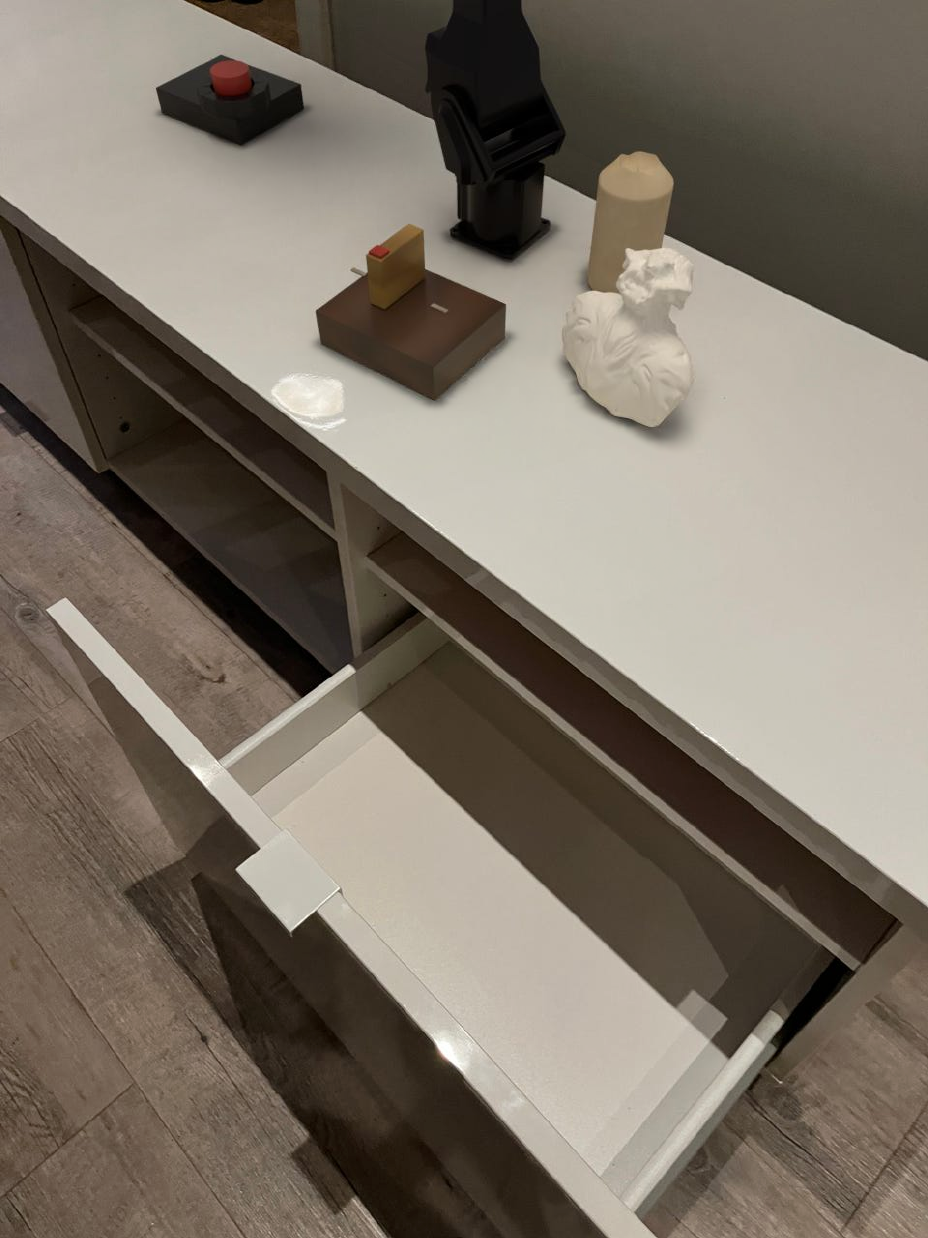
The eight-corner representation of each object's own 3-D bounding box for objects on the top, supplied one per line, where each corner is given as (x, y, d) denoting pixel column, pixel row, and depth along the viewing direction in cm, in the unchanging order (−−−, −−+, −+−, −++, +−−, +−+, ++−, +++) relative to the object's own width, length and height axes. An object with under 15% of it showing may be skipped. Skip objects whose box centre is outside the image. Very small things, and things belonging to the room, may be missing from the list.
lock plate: (505, 337, 71) (506, 301, 68) (434, 400, 67) (433, 365, 64) (383, 282, 75) (380, 246, 73) (309, 338, 71) (303, 303, 68)
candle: (632, 310, 73) (652, 188, 65) (573, 285, 75) (587, 163, 67) (667, 277, 76) (691, 156, 67) (609, 254, 77) (626, 133, 69)
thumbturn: (411, 271, 71) (408, 219, 68) (426, 277, 70) (424, 225, 67) (370, 303, 69) (365, 251, 65) (384, 310, 68) (380, 258, 65)
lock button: (260, 86, 87) (256, 66, 86) (233, 101, 86) (229, 81, 84) (233, 75, 89) (229, 56, 87) (205, 90, 87) (201, 70, 86)
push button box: (310, 111, 92) (304, 68, 89) (241, 151, 88) (232, 107, 84) (226, 78, 96) (217, 36, 93) (156, 115, 92) (144, 72, 88)
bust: (677, 455, 66) (779, 316, 62) (623, 441, 61) (730, 286, 56) (572, 367, 72) (657, 233, 67) (514, 346, 66) (602, 198, 62)
